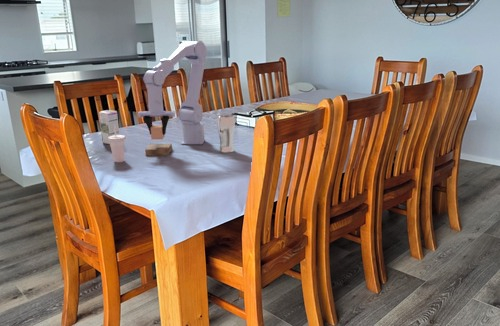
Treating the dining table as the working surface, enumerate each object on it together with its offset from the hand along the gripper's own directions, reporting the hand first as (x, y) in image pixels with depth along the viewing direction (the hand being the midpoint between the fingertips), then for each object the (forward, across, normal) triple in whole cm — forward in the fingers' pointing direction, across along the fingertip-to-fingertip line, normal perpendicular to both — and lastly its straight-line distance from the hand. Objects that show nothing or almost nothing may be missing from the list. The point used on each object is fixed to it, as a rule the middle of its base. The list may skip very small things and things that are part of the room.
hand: (157, 134), depth 176 cm
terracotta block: (+2, 0, 0) cm, 2 cm away
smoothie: (+8, -13, -12) cm, 19 cm away
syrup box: (+8, -25, +15) cm, 30 cm away
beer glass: (+8, +28, +2) cm, 29 cm away
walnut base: (+8, 0, 0) cm, 8 cm away
